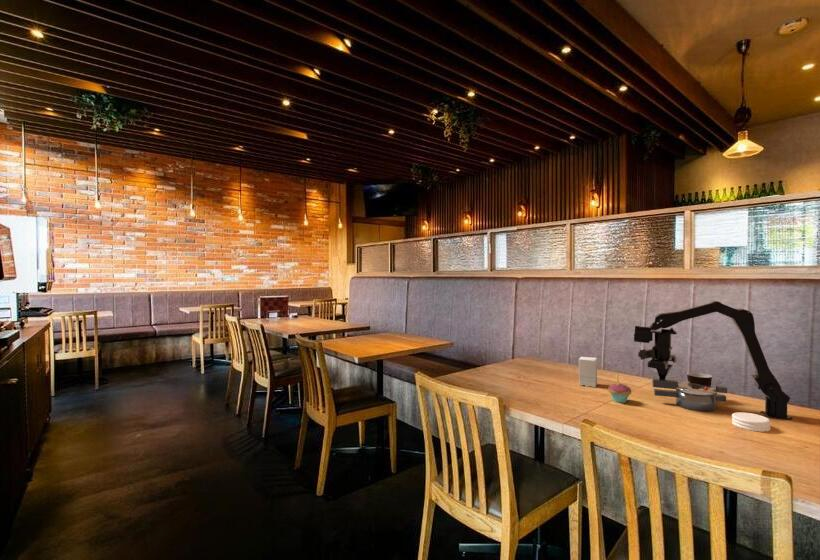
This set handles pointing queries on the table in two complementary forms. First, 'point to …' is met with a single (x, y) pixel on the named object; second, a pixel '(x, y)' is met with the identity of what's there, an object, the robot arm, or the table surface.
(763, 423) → the coaster
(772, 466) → the table surface
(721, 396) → the pot
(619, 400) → the cupcake
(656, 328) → the robot arm
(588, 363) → the supplement box
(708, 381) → the coffee mug
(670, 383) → the lid
